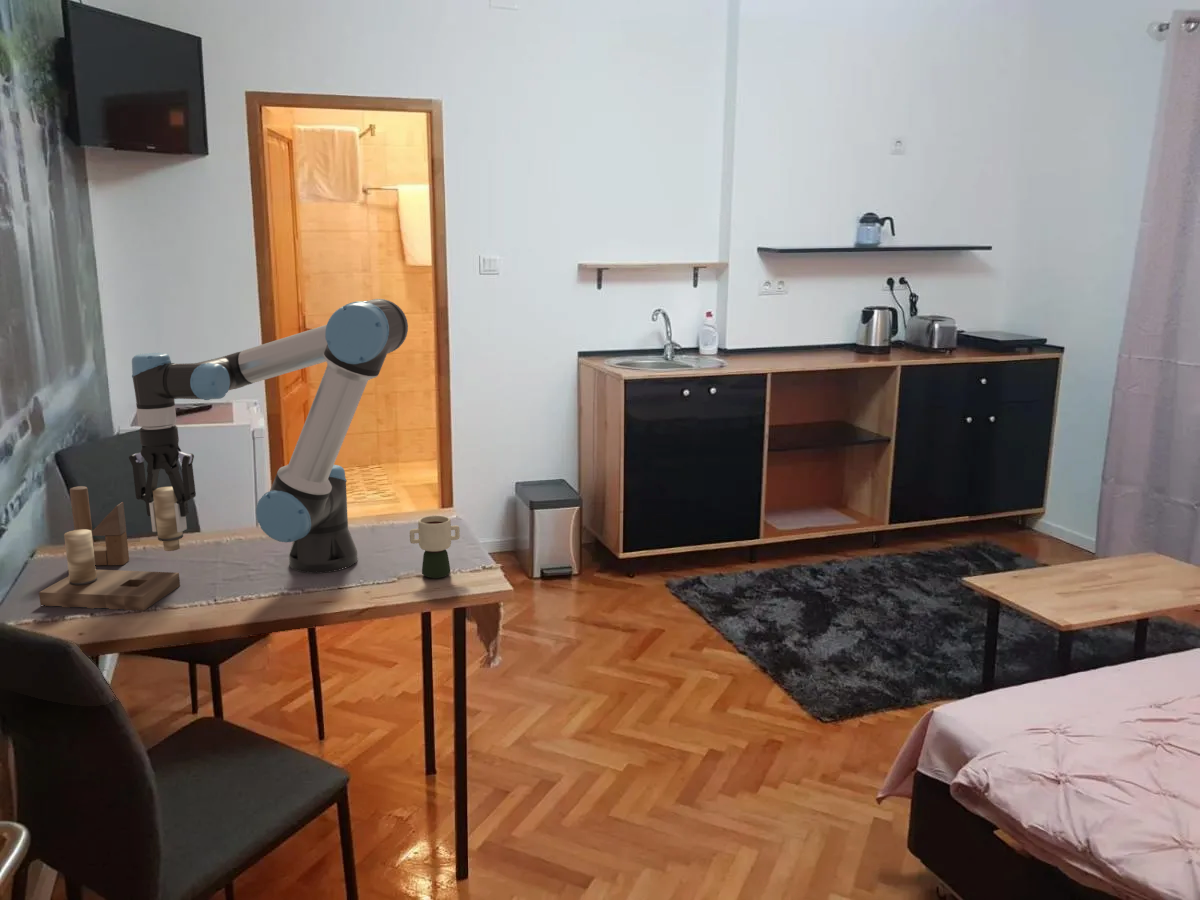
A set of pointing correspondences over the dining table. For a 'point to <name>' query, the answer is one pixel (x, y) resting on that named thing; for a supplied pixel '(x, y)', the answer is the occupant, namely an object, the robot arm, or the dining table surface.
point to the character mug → (435, 544)
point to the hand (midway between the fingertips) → (169, 530)
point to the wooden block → (102, 528)
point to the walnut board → (104, 581)
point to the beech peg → (166, 518)
